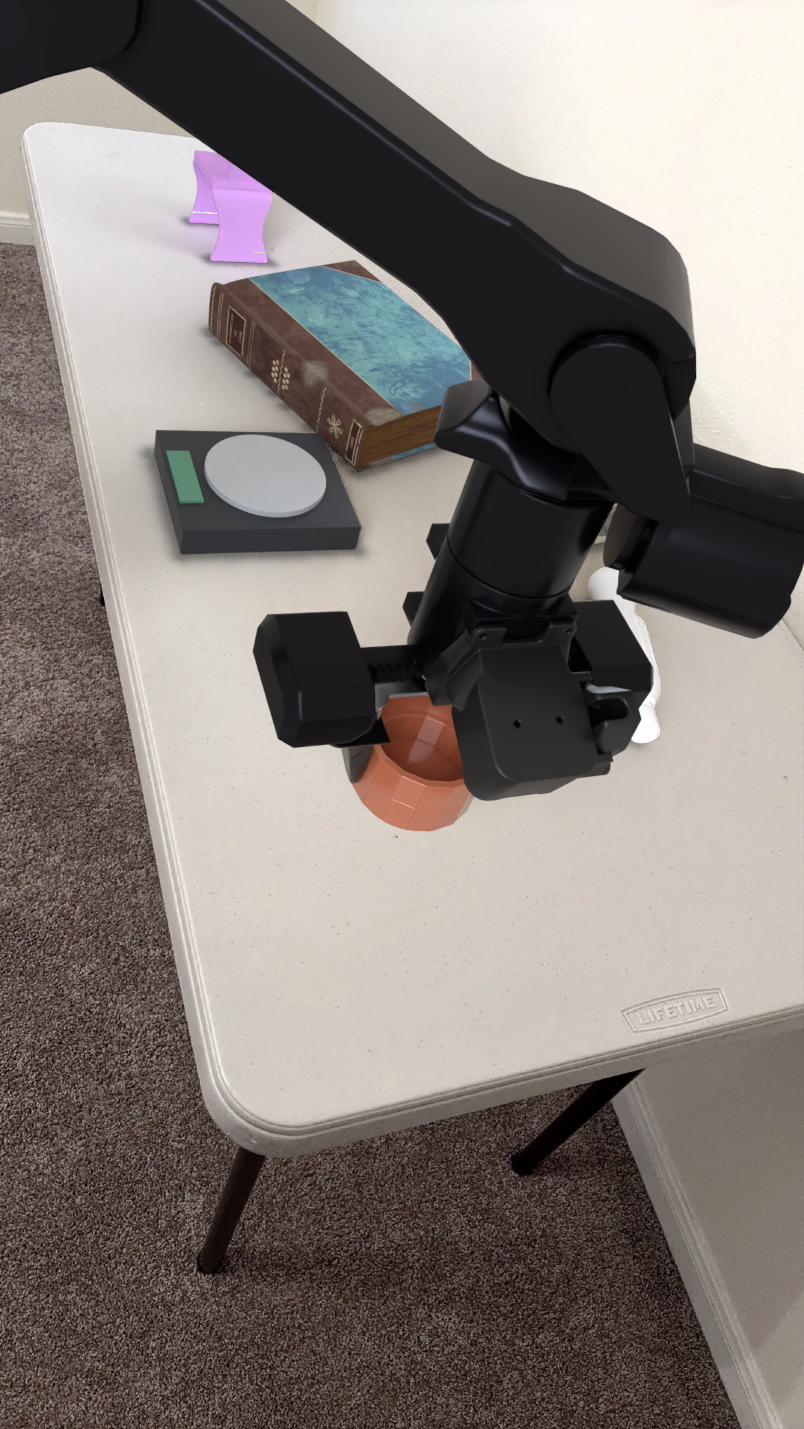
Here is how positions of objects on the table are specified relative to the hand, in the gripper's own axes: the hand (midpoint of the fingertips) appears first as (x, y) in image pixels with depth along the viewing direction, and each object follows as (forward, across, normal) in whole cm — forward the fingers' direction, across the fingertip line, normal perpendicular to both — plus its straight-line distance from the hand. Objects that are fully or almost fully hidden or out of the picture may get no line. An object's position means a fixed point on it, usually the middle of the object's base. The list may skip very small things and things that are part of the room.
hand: (414, 769), depth 52 cm
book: (+11, +14, +52) cm, 55 cm away
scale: (+11, 0, +34) cm, 36 cm away
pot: (+1, 0, 0) cm, 1 cm away
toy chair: (+11, +7, +77) cm, 78 cm away
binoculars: (+11, +22, +15) cm, 29 cm away
